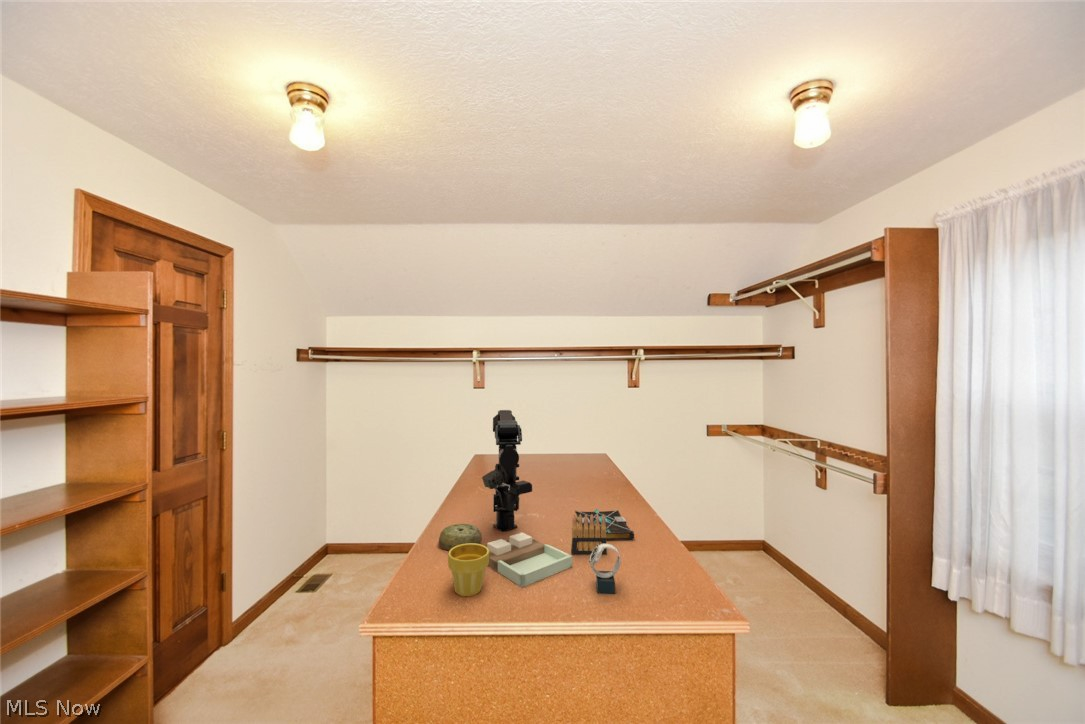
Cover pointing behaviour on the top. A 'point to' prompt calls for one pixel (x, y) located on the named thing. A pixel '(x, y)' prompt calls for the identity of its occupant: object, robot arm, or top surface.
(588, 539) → the ammunition clip
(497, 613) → the top surface
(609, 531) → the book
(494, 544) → the tile
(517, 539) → the tile
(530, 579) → the tray
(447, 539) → the weight
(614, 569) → the watch
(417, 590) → the top surface
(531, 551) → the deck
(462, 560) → the plant pot
